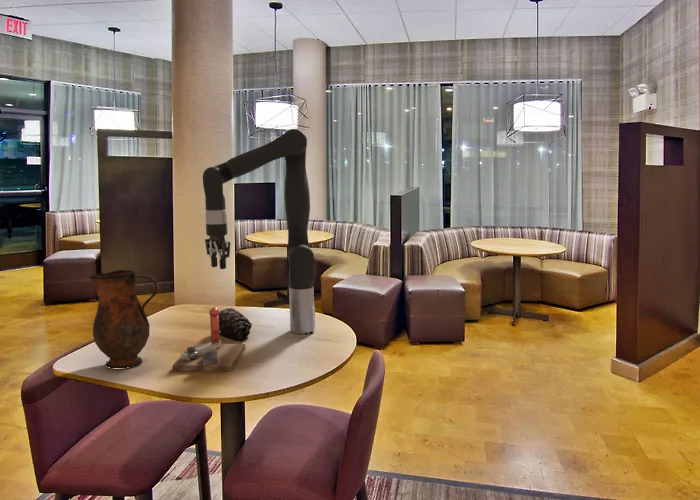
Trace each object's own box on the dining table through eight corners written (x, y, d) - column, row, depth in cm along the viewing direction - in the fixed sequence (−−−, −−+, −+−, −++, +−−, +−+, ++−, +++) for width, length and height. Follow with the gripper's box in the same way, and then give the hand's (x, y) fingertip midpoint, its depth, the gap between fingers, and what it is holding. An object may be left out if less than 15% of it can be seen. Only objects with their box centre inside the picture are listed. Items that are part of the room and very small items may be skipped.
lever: (189, 361, 168) (186, 319, 166) (179, 358, 170) (176, 317, 168) (224, 346, 181) (222, 307, 179) (214, 344, 183) (212, 305, 181)
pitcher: (108, 355, 181) (101, 267, 176) (172, 354, 181) (166, 267, 176) (85, 374, 164) (76, 278, 160) (154, 373, 164) (148, 277, 160)
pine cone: (239, 344, 190) (238, 317, 188) (210, 334, 202) (208, 308, 200) (262, 337, 198) (261, 311, 196) (232, 328, 209) (231, 303, 208)
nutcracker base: (245, 349, 185) (244, 332, 184) (230, 371, 165) (229, 353, 164) (194, 349, 186) (193, 332, 185) (172, 371, 166) (171, 352, 165)
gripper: (236, 222, 193) (238, 269, 196) (215, 220, 203) (217, 264, 206) (217, 224, 188) (220, 272, 191) (197, 221, 198) (199, 266, 201)
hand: (218, 267), depth 198 cm, fingers open, 5 cm apart
